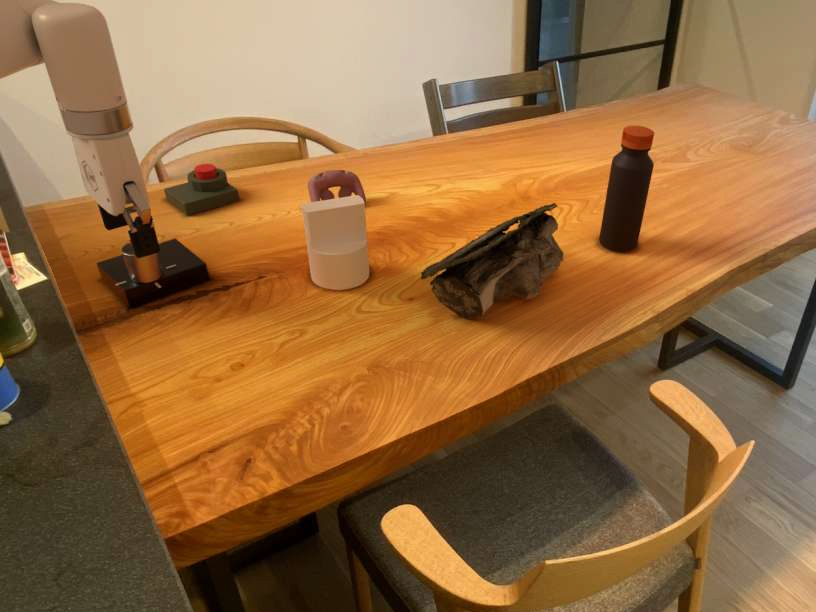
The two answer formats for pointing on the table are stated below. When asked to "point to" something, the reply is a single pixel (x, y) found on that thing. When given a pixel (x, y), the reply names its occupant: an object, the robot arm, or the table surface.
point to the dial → (141, 265)
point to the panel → (177, 275)
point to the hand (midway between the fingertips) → (132, 240)
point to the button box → (202, 193)
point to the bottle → (627, 190)
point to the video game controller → (334, 185)
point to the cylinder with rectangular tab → (337, 242)
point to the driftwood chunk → (498, 264)
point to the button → (205, 171)
